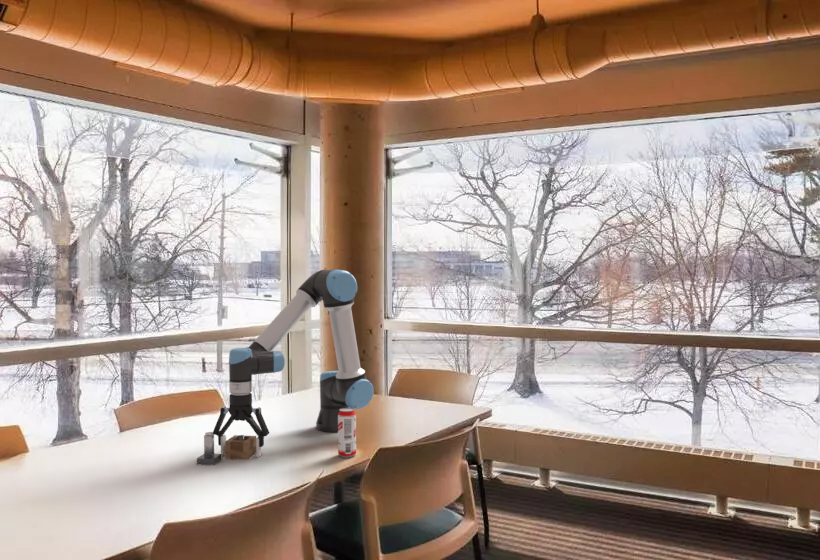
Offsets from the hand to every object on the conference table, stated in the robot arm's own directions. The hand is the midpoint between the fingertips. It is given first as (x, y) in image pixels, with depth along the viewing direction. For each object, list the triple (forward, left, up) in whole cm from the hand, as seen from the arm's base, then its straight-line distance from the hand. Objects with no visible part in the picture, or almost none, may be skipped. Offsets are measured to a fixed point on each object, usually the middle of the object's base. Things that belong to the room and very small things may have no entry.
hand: (241, 455), depth 226 cm
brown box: (0, 0, 0) cm, 0 cm away
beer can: (-4, +37, 0) cm, 37 cm away
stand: (0, 0, 0) cm, 0 cm away
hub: (+8, -8, 0) cm, 11 cm away
